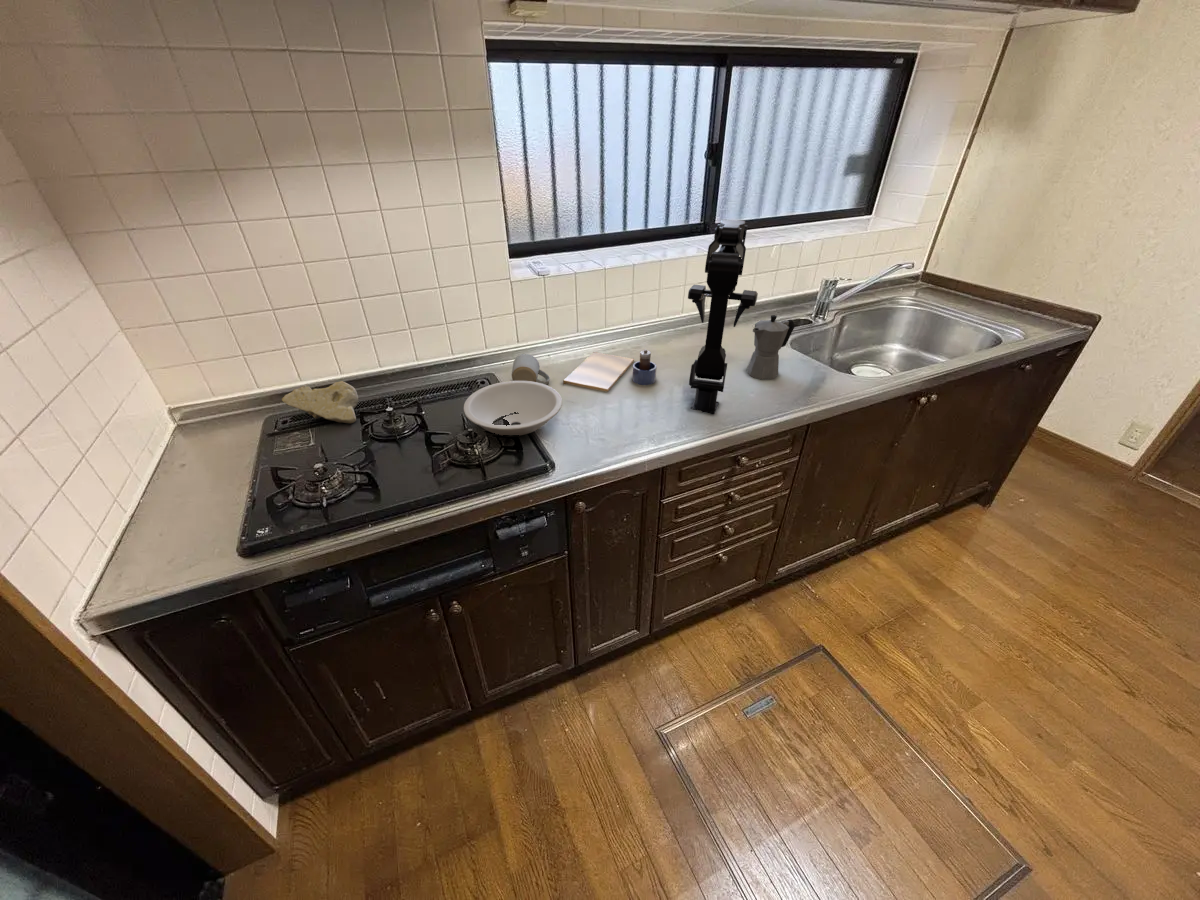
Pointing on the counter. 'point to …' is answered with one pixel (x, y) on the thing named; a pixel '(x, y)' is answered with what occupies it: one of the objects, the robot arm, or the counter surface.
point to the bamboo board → (599, 371)
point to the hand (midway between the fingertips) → (718, 324)
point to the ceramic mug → (528, 369)
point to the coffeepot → (768, 347)
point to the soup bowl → (513, 406)
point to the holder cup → (644, 374)
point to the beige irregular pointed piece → (326, 401)
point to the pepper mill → (645, 360)
